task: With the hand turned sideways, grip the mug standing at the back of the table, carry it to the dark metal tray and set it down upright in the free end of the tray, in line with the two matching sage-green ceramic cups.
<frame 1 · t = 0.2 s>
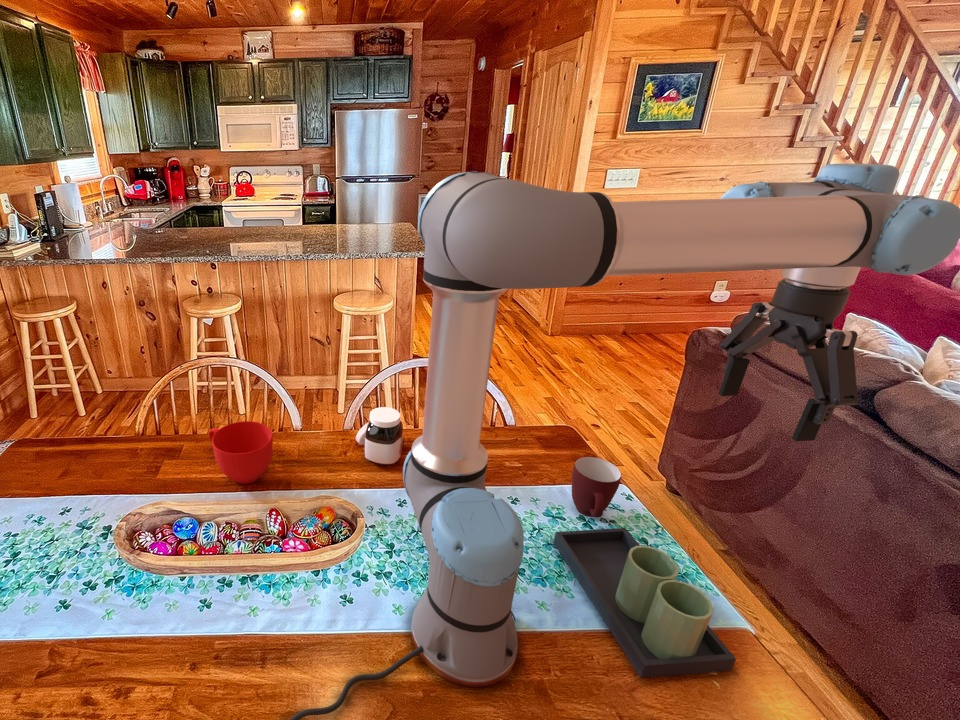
hand: (762, 415, 79), 28 cm above the table, tool pointing down, fingers open, 13 cm apart
spread jar: (377, 454, 120), on the table
ceramic cup: (239, 472, 115), on the table
cup b: (637, 608, 80), resting on tray
tray: (629, 598, 82), on the table
mug: (589, 515, 100), on the table
cup a: (665, 647, 74), resting on tray
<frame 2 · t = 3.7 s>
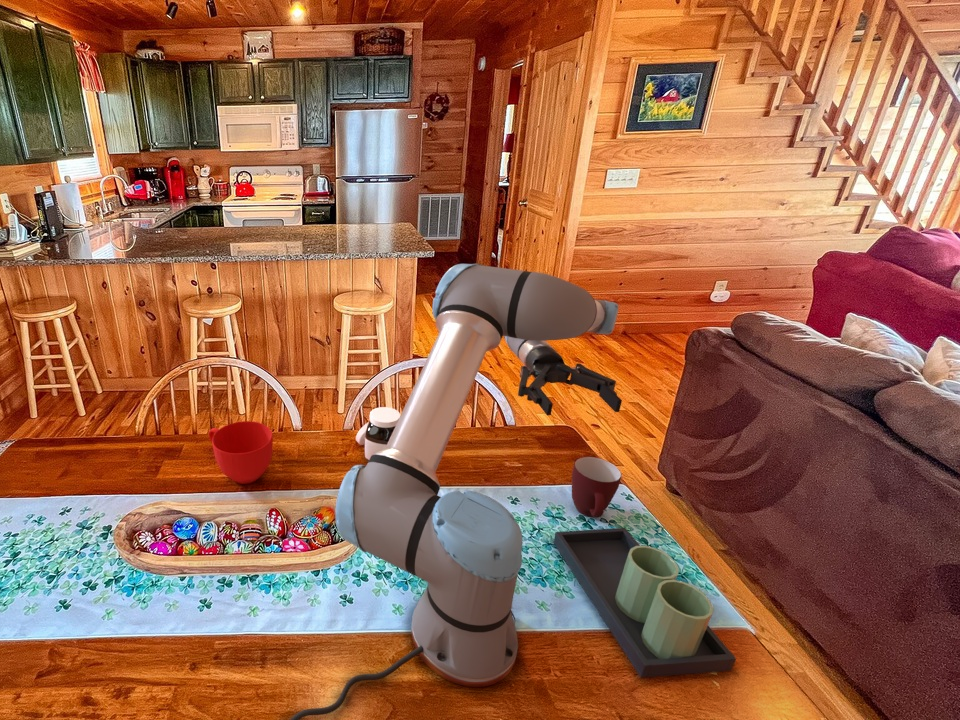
hand: (584, 408, 101), 19 cm above the table, tool horizontal, fingers open, 13 cm apart
nothing on the table moved.
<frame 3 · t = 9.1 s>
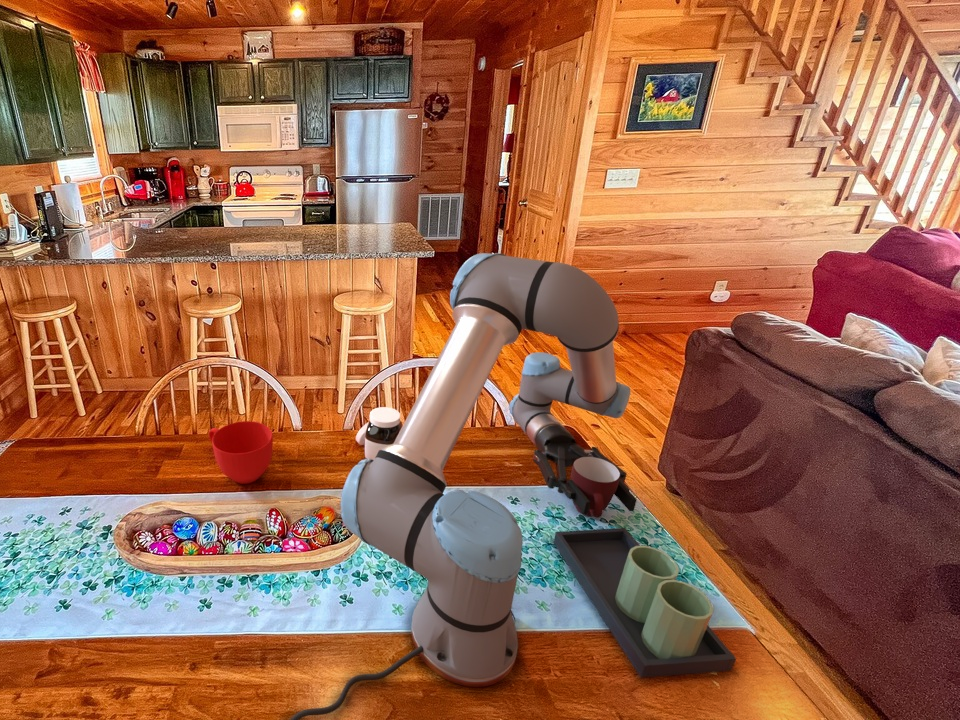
hand: (610, 506, 93), 6 cm above the table, tool horizontal, fingers closed on mug, 8 cm apart
mug: (589, 515, 100), on the table, touching gripper
everything else where it was.
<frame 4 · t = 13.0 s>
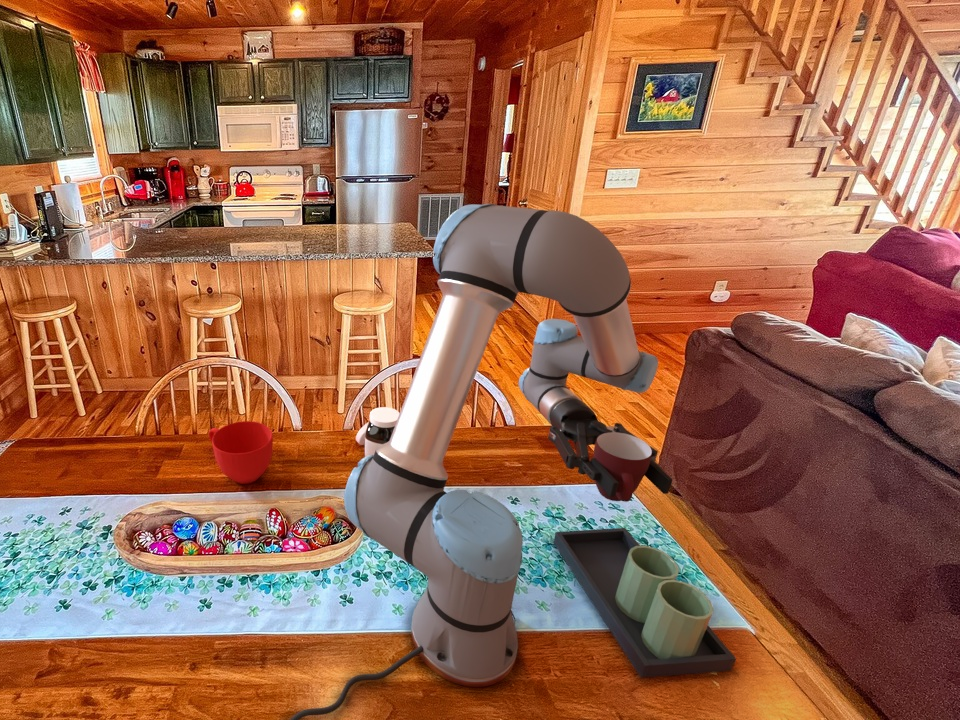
hand: (641, 488, 79), 18 cm above the table, tool horizontal, fingers closed on mug, 8 cm apart
mug: (614, 499, 86), point 12 cm above the table, touching gripper
everything else where it was.
when the fingers open (7 cm above the table, at t = 16.8 s): mug stays where it is, resting on tray.
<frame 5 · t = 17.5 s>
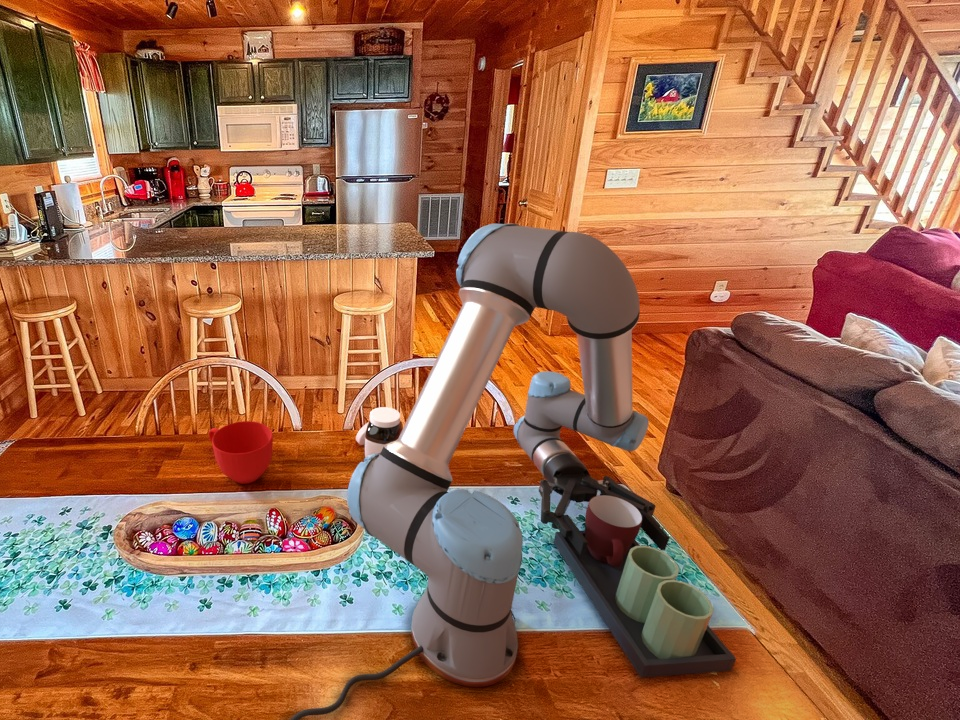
hand: (625, 546, 83), 7 cm above the table, tool horizontal, fingers open, 13 cm apart
mug: (604, 561, 88), resting on tray
everything else where it was.
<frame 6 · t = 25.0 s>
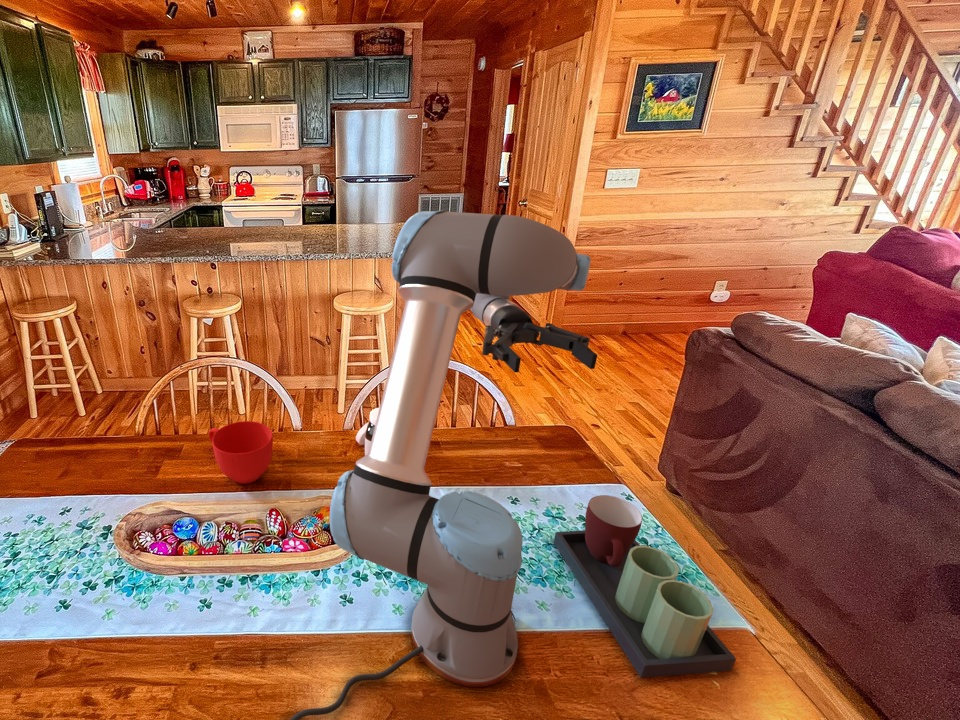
hand: (556, 363, 88), 32 cm above the table, tool horizontal, fingers open, 13 cm apart
nothing on the table moved.
at the end: mug inside the target area in the tray (0.5 cm from its centre), point 0.4 cm above the tray's base; mug tilted 0°; the gripper is holding nothing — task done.
